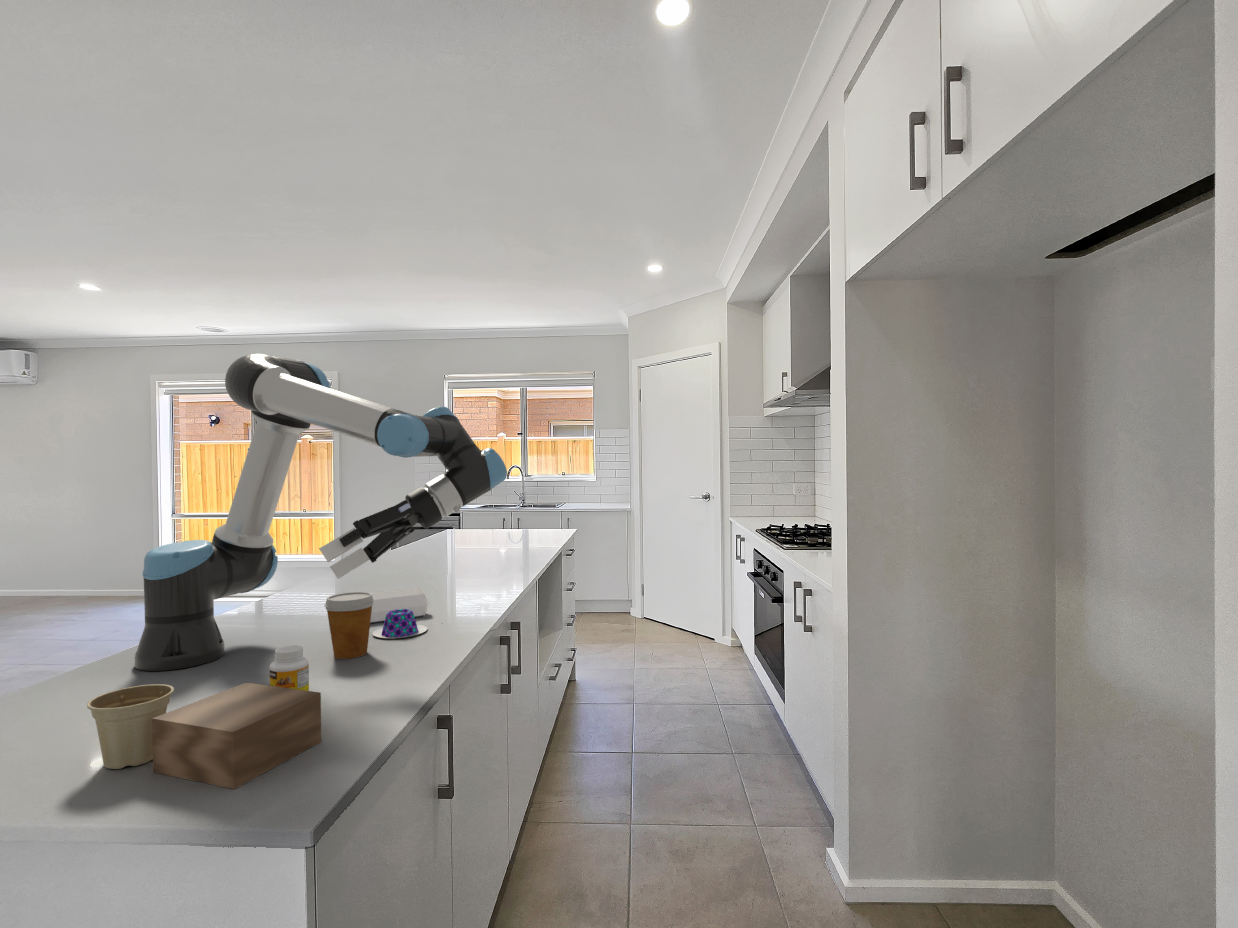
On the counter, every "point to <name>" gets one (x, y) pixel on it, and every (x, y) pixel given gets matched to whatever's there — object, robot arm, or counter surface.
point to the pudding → (399, 625)
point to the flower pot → (128, 722)
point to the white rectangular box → (398, 603)
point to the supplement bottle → (290, 668)
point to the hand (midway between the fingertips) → (328, 564)
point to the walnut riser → (236, 734)
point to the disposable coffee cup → (349, 623)
